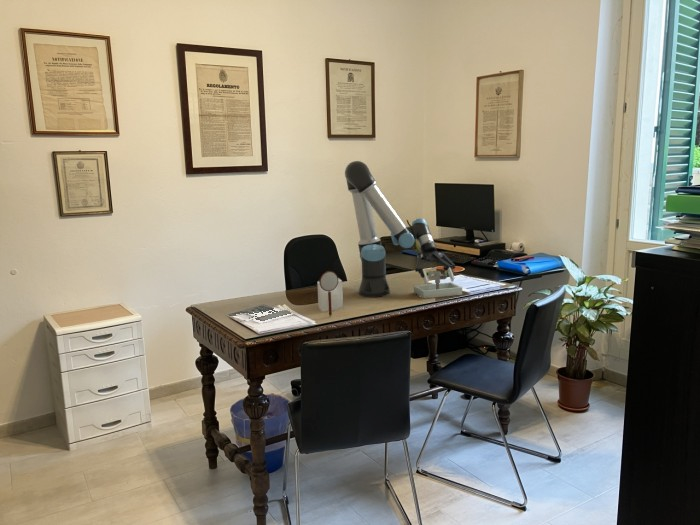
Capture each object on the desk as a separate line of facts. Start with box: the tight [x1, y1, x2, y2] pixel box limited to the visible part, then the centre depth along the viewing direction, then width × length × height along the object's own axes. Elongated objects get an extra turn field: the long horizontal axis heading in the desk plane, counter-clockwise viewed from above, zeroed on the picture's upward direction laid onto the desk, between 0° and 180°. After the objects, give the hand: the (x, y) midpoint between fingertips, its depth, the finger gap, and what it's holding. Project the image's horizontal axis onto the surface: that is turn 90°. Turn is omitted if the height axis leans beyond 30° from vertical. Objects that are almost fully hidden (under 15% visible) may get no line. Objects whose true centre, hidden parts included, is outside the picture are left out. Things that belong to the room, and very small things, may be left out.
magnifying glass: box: [318, 270, 339, 318], centre depth 236 cm, size 9×2×20 cm, turn 116°
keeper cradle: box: [413, 281, 463, 299], centre depth 270 cm, size 20×12×4 cm, turn 106°
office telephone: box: [227, 303, 292, 321], centre depth 244 cm, size 23×3×20 cm
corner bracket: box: [316, 277, 344, 313], centre depth 252 cm, size 11×11×12 cm
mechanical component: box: [426, 270, 449, 290], centre depth 269 cm, size 3×10×10 cm, turn 89°
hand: (440, 281), depth 266 cm, fingers open, 13 cm apart
